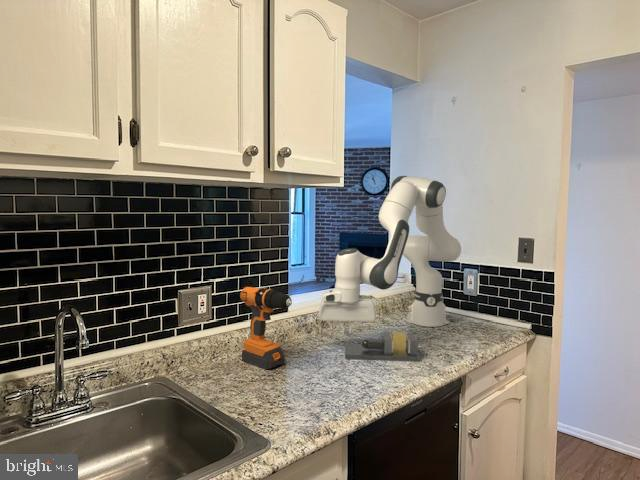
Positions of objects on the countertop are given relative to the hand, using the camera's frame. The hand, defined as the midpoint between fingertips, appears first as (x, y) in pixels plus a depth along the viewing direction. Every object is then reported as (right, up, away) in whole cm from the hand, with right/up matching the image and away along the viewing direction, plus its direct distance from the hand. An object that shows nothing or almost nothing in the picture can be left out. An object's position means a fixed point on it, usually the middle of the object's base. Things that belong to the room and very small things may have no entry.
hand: (346, 333), depth 157 cm
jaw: (+10, -5, -2) cm, 12 cm away
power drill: (-26, -7, -14) cm, 31 cm away
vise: (+12, -7, -2) cm, 14 cm away
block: (+18, -6, -3) cm, 19 cm away
